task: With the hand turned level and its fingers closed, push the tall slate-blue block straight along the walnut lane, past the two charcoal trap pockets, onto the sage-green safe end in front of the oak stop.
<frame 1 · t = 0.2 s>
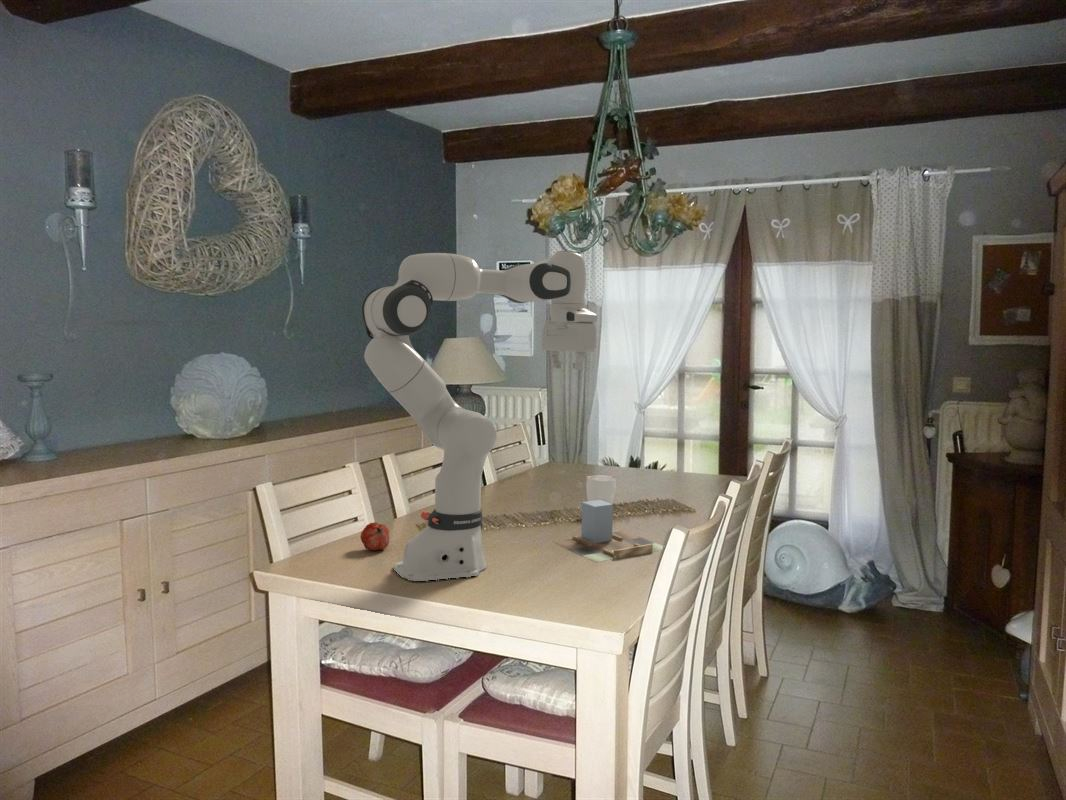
hand: (566, 369, 203), 48 cm above the table, tool pointing down, fingers open, 8 cm apart
trap box: (610, 548, 209), on the table
pomegranate: (375, 550, 206), on the table
cup: (600, 516, 244), on the table
block: (596, 539, 214), point 1 cm above the table, touching trap box
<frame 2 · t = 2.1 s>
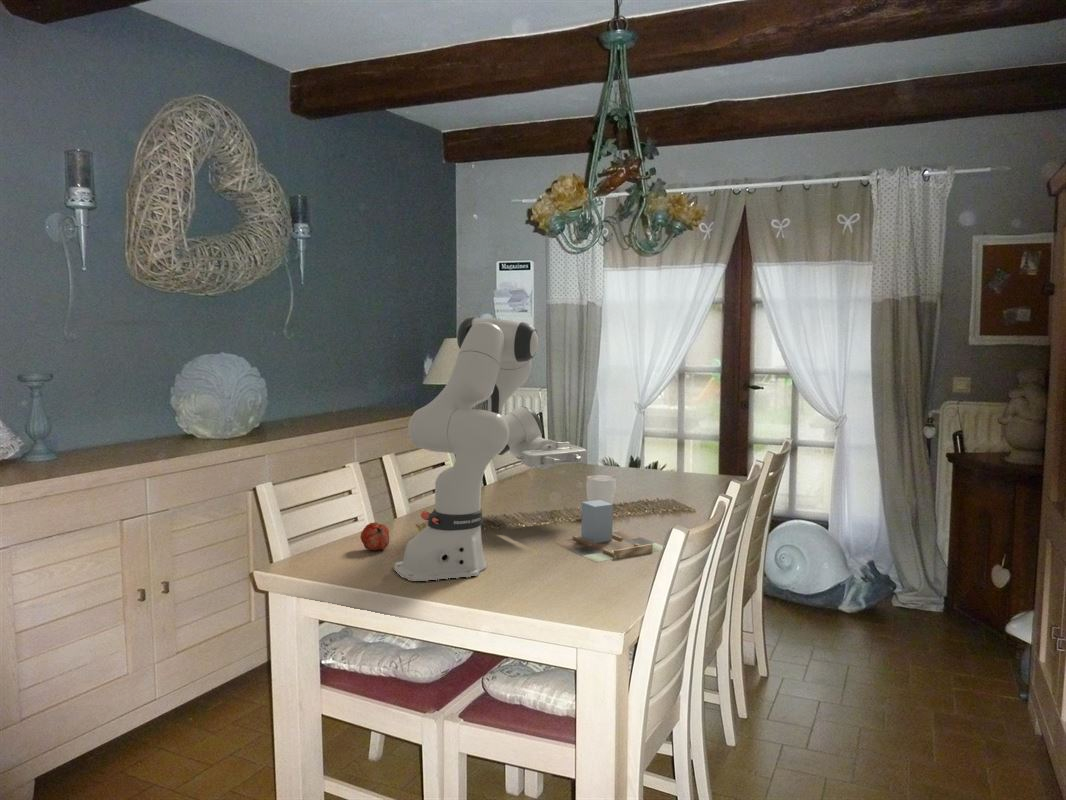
hand: (568, 461, 225), 20 cm above the table, tool horizontal, fingers open, 6 cm apart
nothing on the table moved.
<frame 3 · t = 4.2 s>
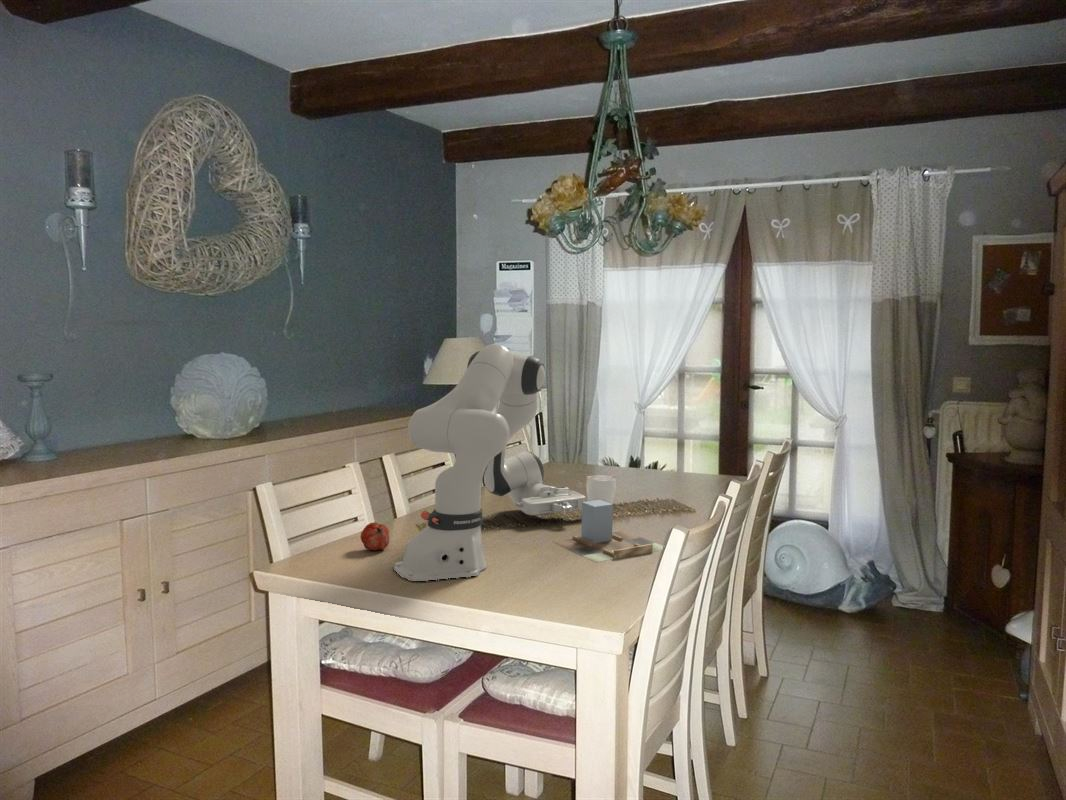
hand: (568, 509, 226), 6 cm above the table, tool horizontal, fingers closed
nothing on the table moved.
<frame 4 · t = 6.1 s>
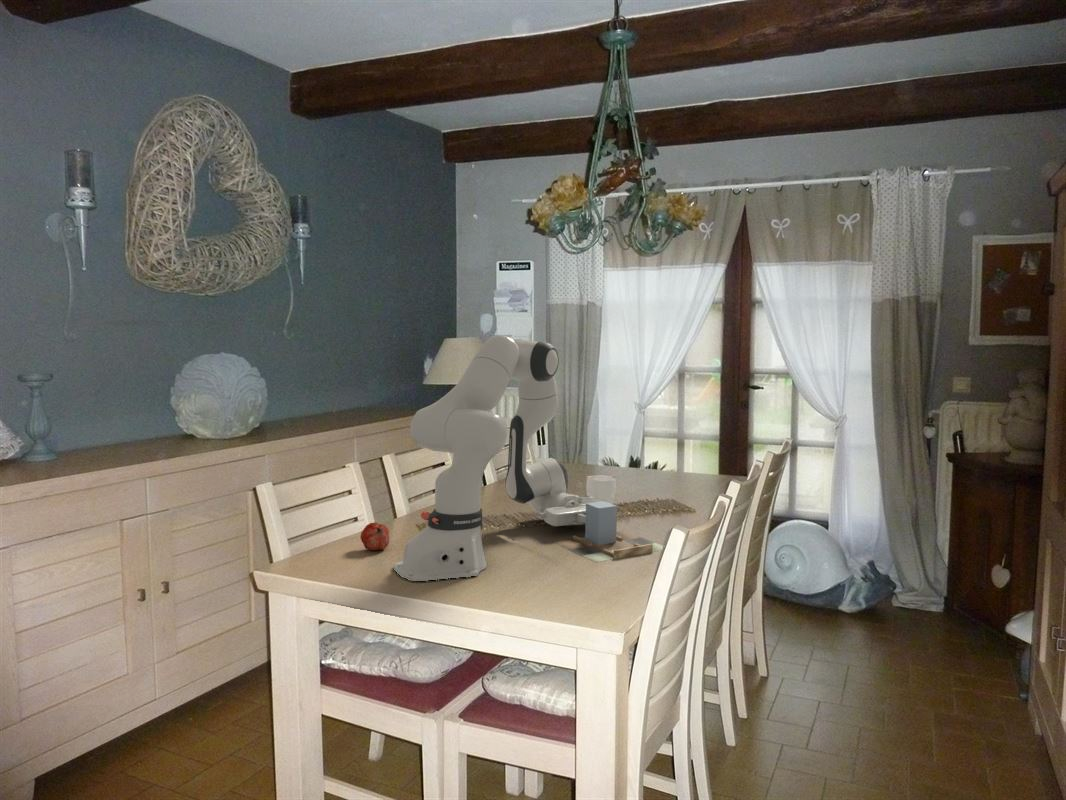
hand: (594, 520, 215), 6 cm above the table, tool horizontal, fingers closed
block: (600, 540, 213), point 1 cm above the table
everything else where it was.
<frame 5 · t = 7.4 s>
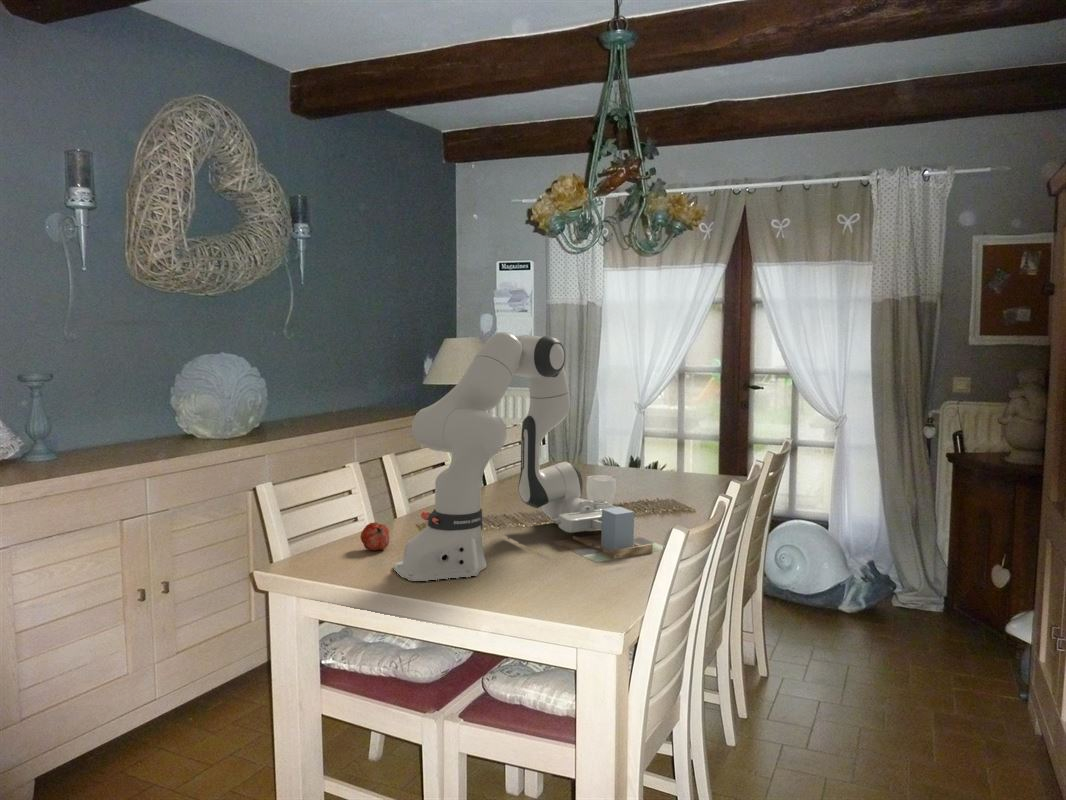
hand: (610, 526, 209), 6 cm above the table, tool horizontal, fingers closed, pressing on block
block: (617, 547, 207), point 1 cm above the table, touching gripper
everything else where it was.
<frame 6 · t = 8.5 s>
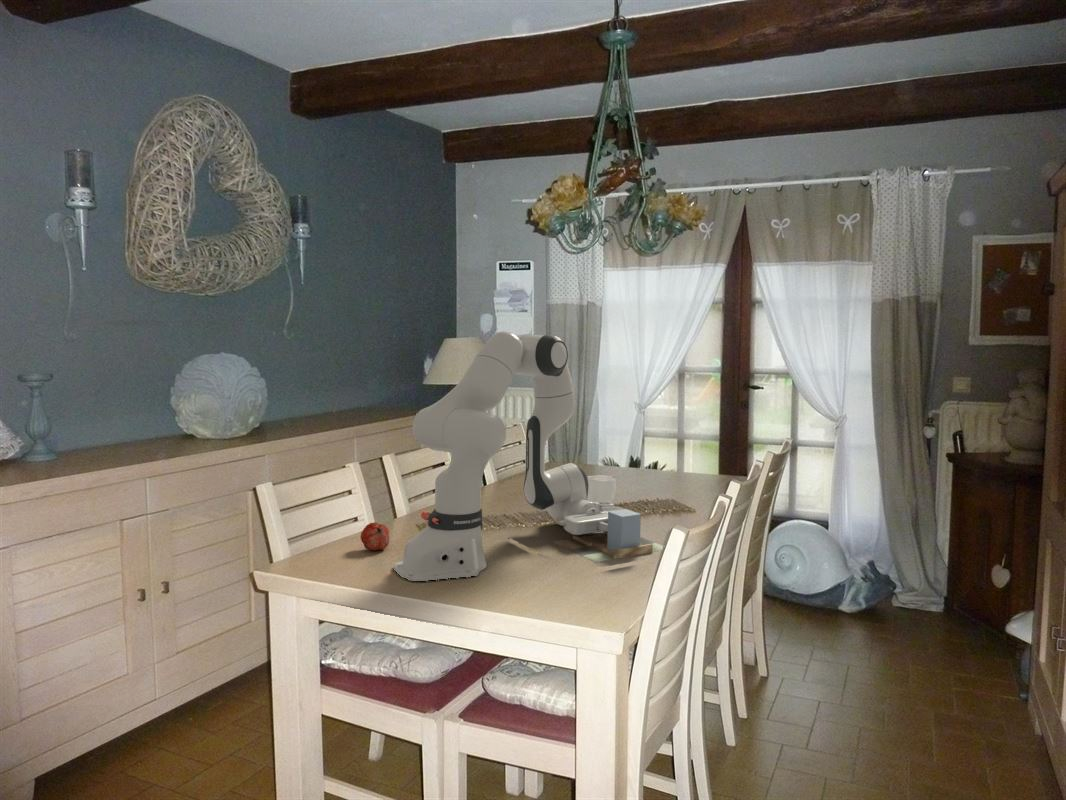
hand: (616, 528, 206), 6 cm above the table, tool horizontal, fingers closed, pressing on block
block: (623, 550, 204), point 1 cm above the table, touching gripper, trap box
everything else where it was.
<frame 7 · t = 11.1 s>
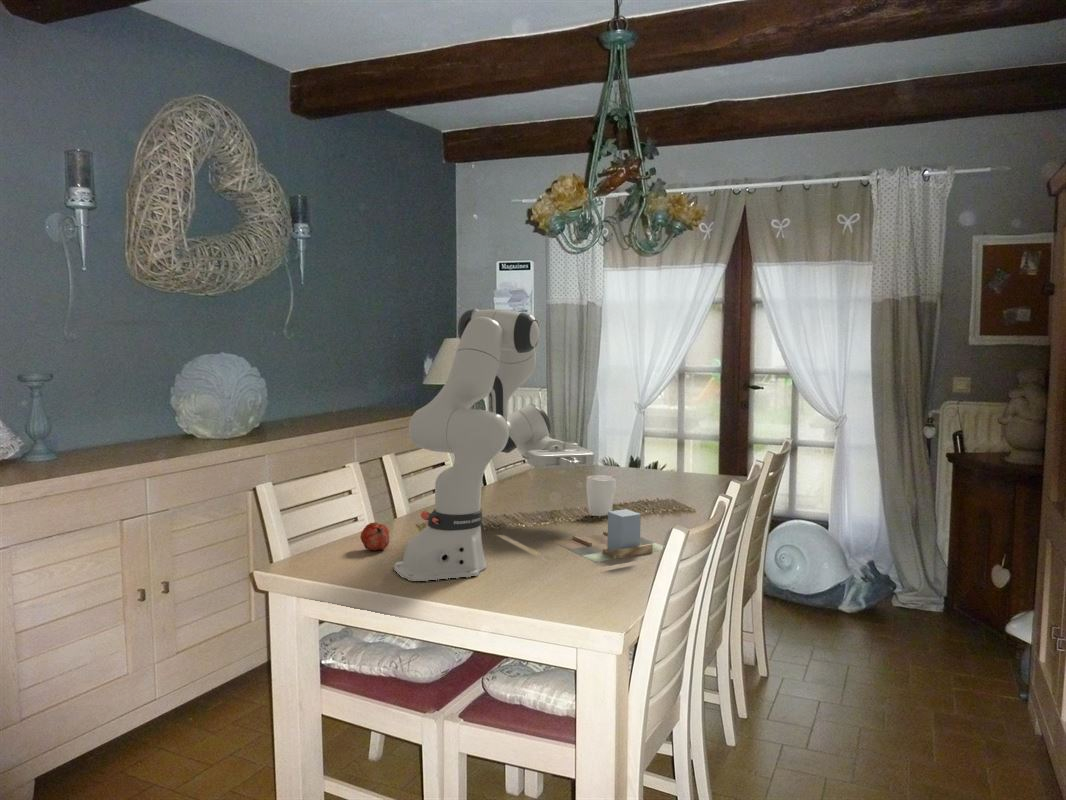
hand: (574, 464, 221), 20 cm above the table, tool horizontal, fingers closed
block: (623, 550, 204), point 1 cm above the table, touching trap box
everything else where it was.
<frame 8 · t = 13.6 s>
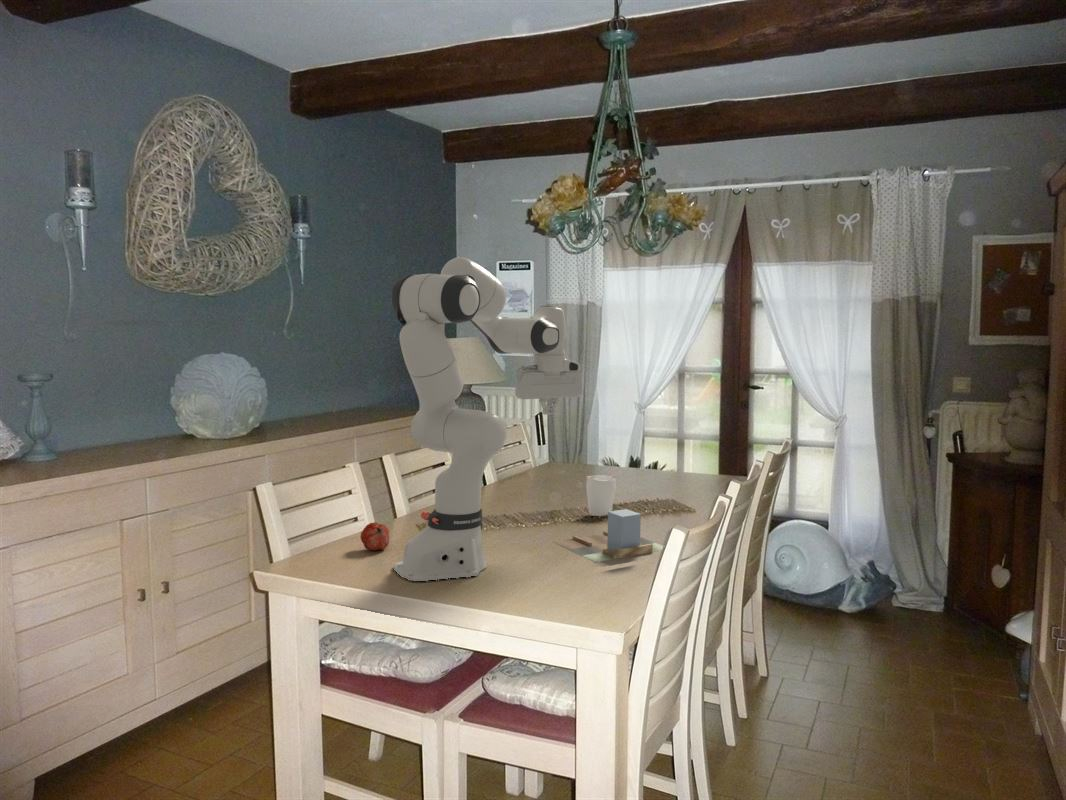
hand: (548, 414, 220), 34 cm above the table, tool pointing down, fingers closed
nothing on the table moved.
at the end: block 0.9 cm from the target spot, point 1.0 cm above the table; block tilted 0°; the gripper is holding nothing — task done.
